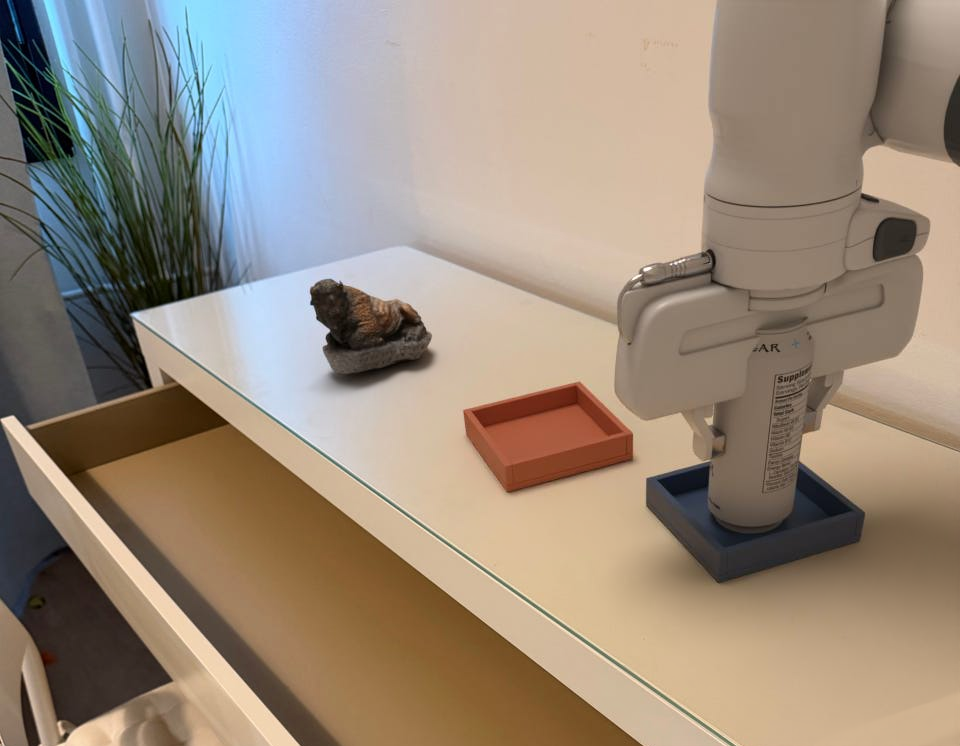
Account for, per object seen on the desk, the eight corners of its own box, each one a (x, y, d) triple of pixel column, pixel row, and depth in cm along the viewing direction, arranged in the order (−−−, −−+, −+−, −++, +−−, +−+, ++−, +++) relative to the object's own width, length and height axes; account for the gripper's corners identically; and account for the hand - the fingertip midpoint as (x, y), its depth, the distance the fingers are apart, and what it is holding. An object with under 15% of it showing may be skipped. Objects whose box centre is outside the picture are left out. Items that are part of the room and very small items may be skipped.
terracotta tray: (580, 405, 86) (579, 380, 84) (633, 459, 77) (633, 433, 76) (465, 434, 84) (462, 409, 82) (507, 492, 76) (504, 466, 74)
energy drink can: (735, 485, 72) (752, 290, 62) (807, 509, 68) (836, 307, 59) (690, 520, 69) (700, 322, 59) (762, 547, 65) (786, 342, 56)
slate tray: (773, 469, 74) (776, 442, 72) (860, 541, 66) (866, 512, 64) (645, 504, 72) (645, 477, 70) (718, 583, 64) (720, 554, 62)
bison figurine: (415, 340, 101) (401, 245, 95) (448, 360, 97) (435, 261, 90) (316, 374, 97) (294, 277, 91) (344, 396, 92) (323, 295, 86)
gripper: (641, 288, 52) (639, 501, 60) (956, 216, 55) (910, 427, 64) (595, 256, 56) (599, 458, 65) (888, 192, 60) (854, 391, 69)
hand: (756, 442), depth 65 cm, fingers closed on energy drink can, 6 cm apart
